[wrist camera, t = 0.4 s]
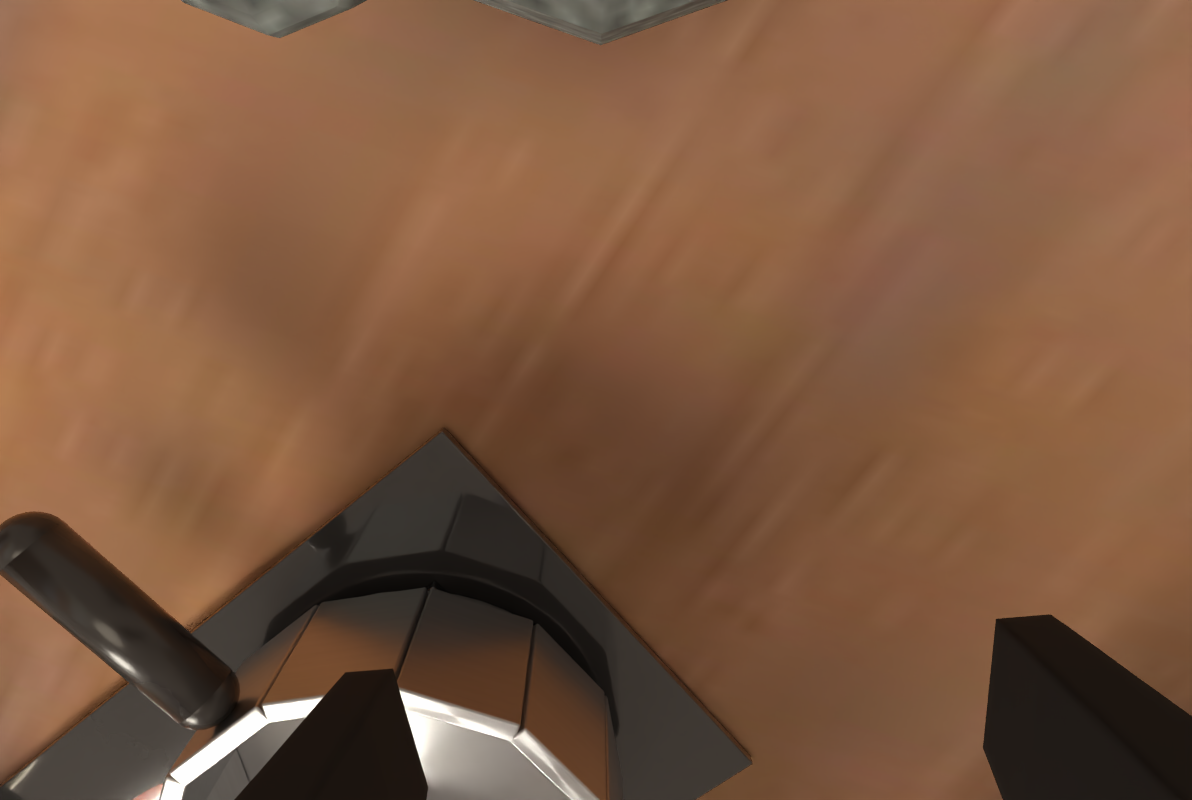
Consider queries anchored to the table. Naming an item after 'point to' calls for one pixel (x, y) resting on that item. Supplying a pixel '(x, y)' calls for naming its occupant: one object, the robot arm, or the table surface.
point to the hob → (402, 562)
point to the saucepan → (319, 659)
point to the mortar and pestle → (566, 3)
